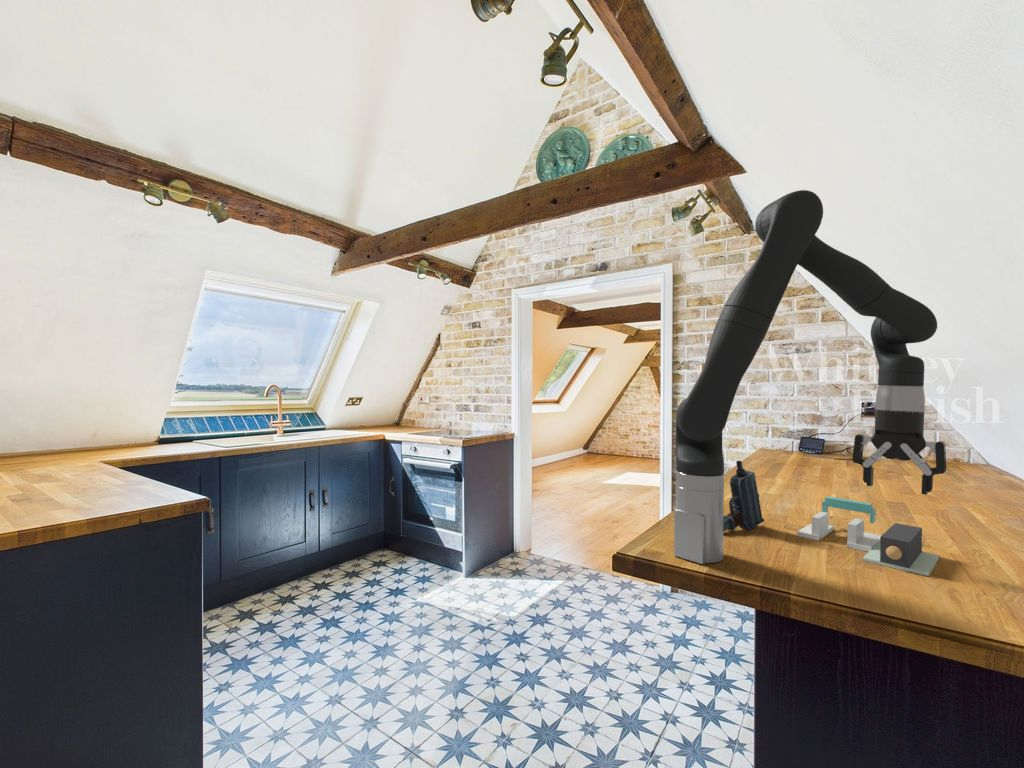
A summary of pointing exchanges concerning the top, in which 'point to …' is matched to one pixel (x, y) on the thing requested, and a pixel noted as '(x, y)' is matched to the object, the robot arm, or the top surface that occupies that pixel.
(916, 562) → the mat
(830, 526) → the clamp
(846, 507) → the teal drawer handle
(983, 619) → the top surface
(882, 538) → the grey block with knob
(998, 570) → the top surface
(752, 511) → the gun
